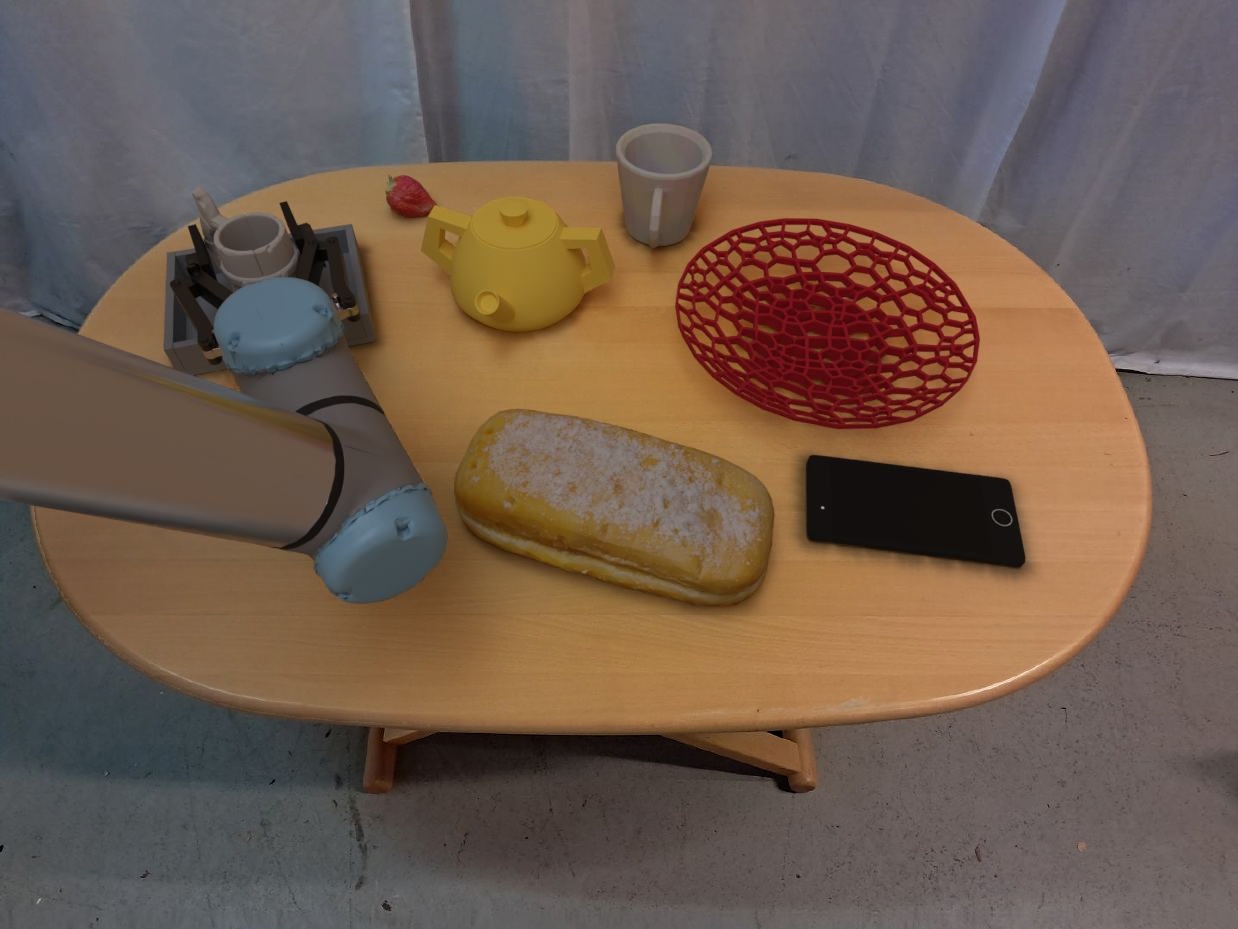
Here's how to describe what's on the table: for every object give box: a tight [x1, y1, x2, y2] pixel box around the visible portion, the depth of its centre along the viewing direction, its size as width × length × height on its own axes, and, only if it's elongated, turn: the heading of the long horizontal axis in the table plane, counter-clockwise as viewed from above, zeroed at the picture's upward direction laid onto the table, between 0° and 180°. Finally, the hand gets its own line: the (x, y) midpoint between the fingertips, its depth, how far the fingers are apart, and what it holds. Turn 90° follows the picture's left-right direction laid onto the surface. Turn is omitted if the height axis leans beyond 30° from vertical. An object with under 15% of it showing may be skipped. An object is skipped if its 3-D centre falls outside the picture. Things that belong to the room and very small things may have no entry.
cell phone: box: [805, 454, 1026, 569], centre depth 70 cm, size 9×18×1 cm, turn 82°
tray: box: [163, 223, 377, 376], centre depth 81 cm, size 19×15×4 cm
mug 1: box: [191, 185, 301, 292], centre depth 77 cm, size 8×12×12 cm, turn 56°
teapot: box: [420, 196, 616, 333], centre depth 80 cm, size 20×18×11 cm
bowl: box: [674, 217, 981, 430], centre depth 80 cm, size 29×30×5 cm
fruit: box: [384, 173, 438, 218], centre depth 92 cm, size 4×6×5 cm
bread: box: [453, 408, 776, 608], centre depth 65 cm, size 13×26×8 cm, turn 76°
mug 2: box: [615, 122, 714, 249], centre depth 88 cm, size 10×15×10 cm
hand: (242, 224), depth 80 cm, fingers closed on mug 1, 8 cm apart
